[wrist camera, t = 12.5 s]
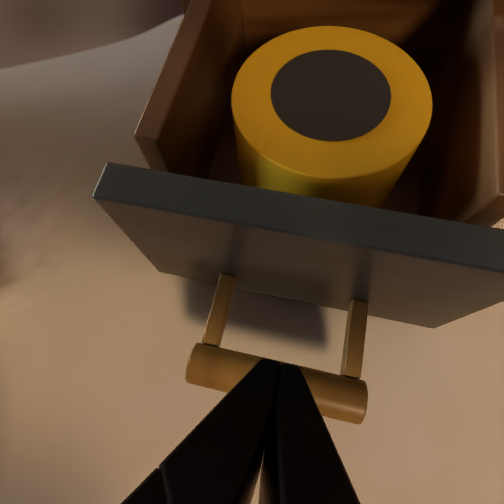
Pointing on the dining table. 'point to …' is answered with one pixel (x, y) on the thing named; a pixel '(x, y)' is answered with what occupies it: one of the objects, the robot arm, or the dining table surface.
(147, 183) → the drawer
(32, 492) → the dining table surface
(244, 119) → the tape roll
